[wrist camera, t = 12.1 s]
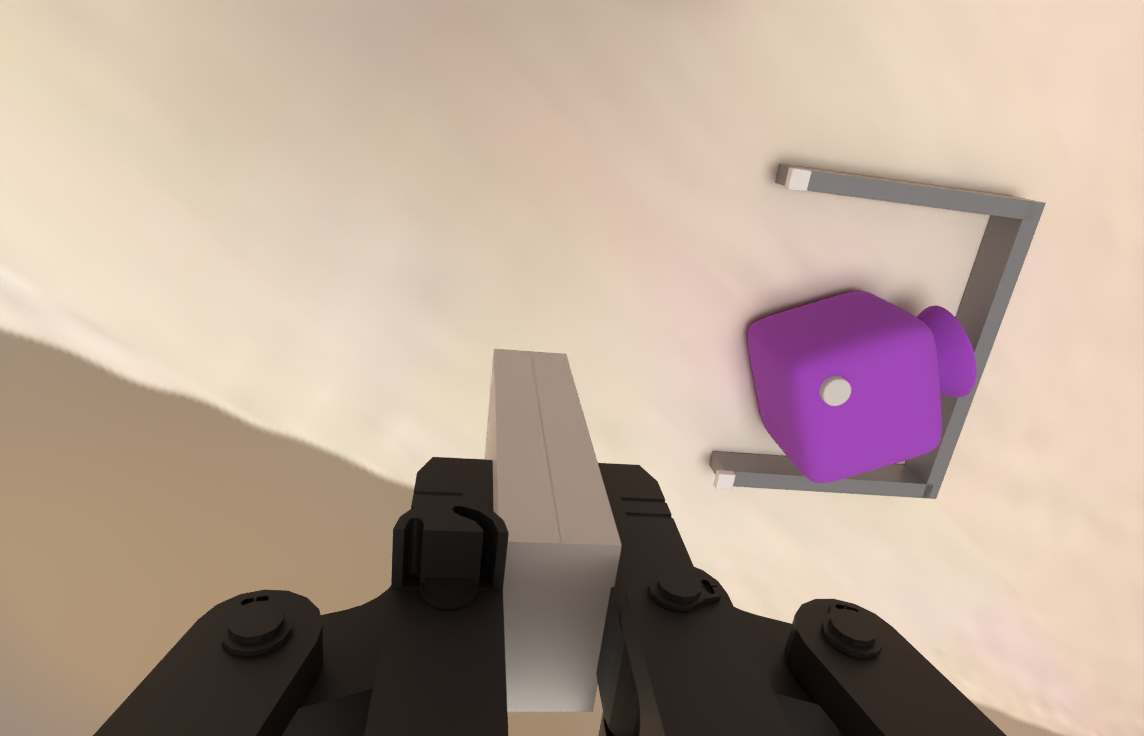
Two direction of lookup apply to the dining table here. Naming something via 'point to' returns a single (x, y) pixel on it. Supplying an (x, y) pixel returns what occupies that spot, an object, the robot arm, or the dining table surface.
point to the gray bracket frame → (975, 314)
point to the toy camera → (857, 381)
